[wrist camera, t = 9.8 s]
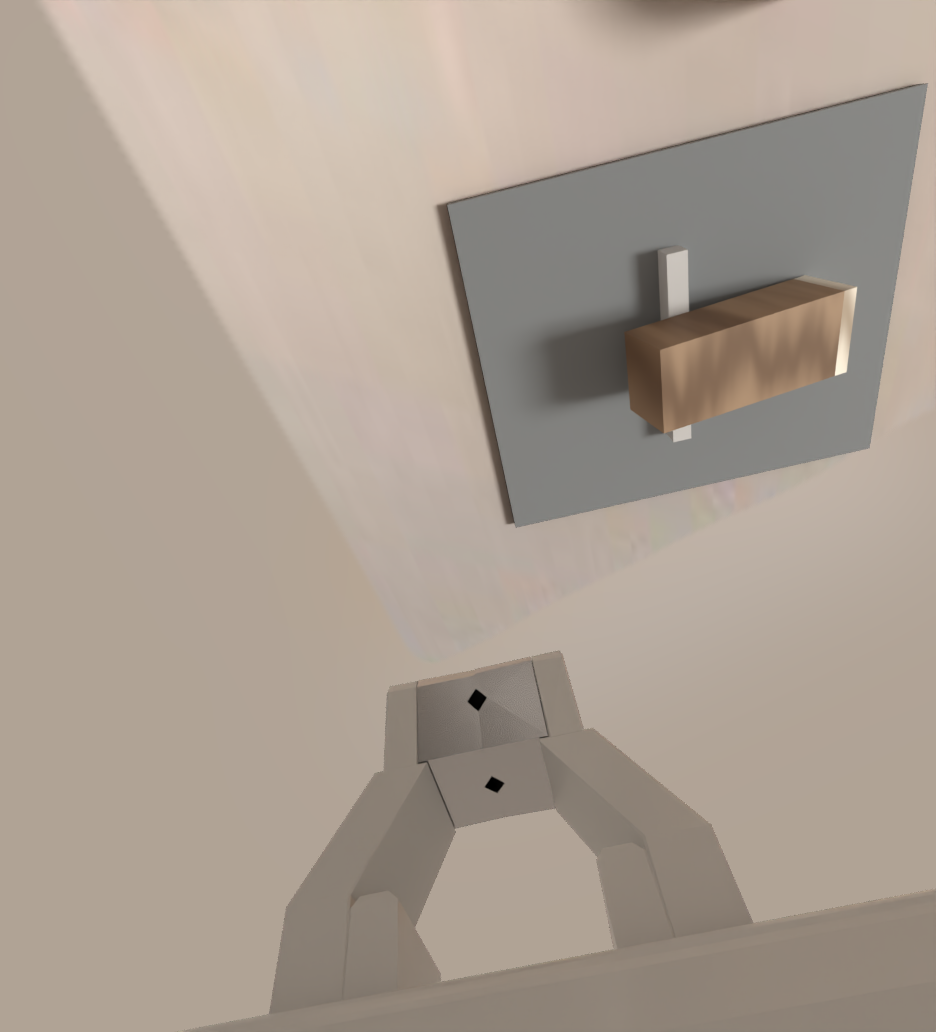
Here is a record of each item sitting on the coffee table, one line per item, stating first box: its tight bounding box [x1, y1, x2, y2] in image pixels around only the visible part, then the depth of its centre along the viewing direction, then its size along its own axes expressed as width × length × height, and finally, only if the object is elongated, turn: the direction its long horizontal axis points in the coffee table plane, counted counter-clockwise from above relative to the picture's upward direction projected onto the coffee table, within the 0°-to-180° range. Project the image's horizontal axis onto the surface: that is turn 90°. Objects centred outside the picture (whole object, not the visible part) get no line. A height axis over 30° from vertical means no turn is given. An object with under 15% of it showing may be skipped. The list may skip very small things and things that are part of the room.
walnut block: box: [624, 275, 857, 433], centre depth 36 cm, size 5×4×12 cm
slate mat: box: [447, 83, 928, 528], centre depth 39 cm, size 22×26×2 cm
